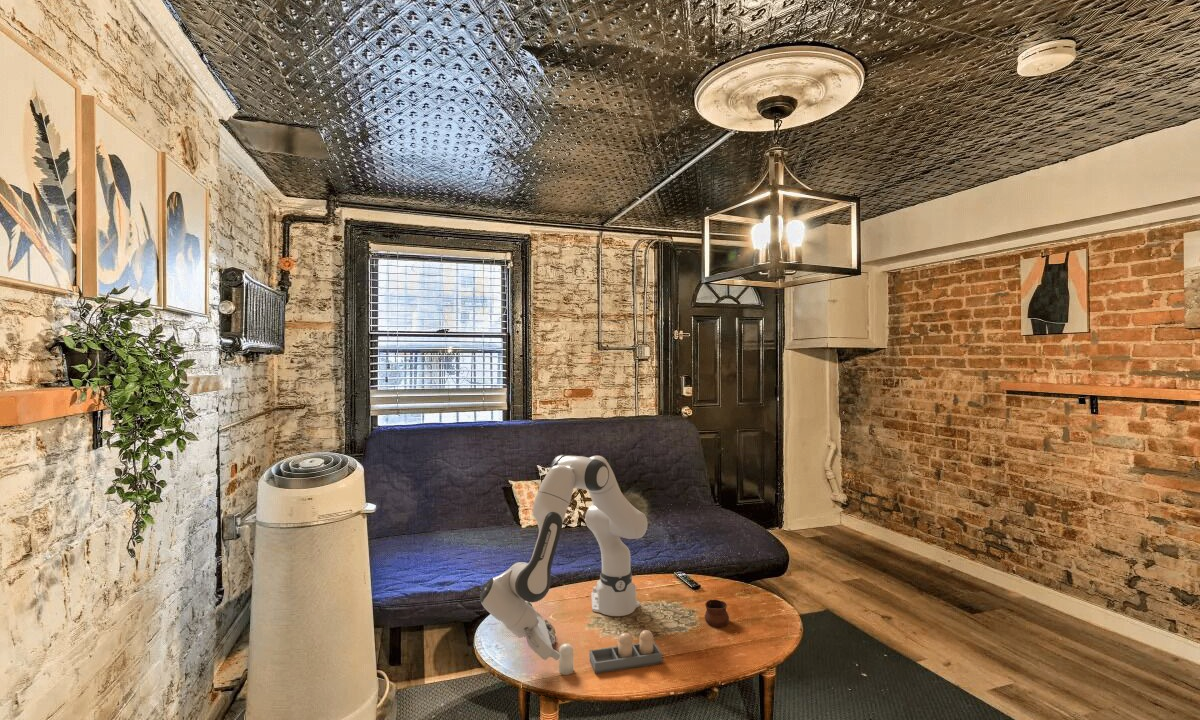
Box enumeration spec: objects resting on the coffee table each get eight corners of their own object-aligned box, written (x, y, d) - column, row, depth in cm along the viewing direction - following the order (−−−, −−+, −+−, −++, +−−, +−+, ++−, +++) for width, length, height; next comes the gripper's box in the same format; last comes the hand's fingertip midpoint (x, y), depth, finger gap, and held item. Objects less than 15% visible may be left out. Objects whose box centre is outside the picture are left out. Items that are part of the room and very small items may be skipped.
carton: (589, 660, 175) (589, 632, 175) (653, 650, 180) (653, 623, 180) (595, 673, 168) (594, 644, 167) (661, 663, 173) (661, 635, 173)
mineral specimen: (526, 632, 191) (526, 615, 188) (551, 625, 194) (551, 608, 191) (535, 661, 181) (535, 643, 178) (562, 653, 184) (562, 635, 181)
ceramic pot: (685, 628, 195) (685, 609, 195) (699, 607, 211) (699, 589, 211) (736, 640, 187) (736, 619, 187) (747, 617, 203) (746, 598, 203)
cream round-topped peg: (558, 667, 171) (557, 641, 171) (572, 665, 172) (571, 639, 172) (560, 675, 167) (560, 649, 167) (574, 673, 168) (574, 647, 168)
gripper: (535, 629, 157) (569, 658, 159) (527, 598, 176) (557, 624, 179) (519, 647, 156) (554, 676, 158) (513, 613, 175) (544, 640, 178)
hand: (556, 648), depth 169 cm, fingers open, 8 cm apart
